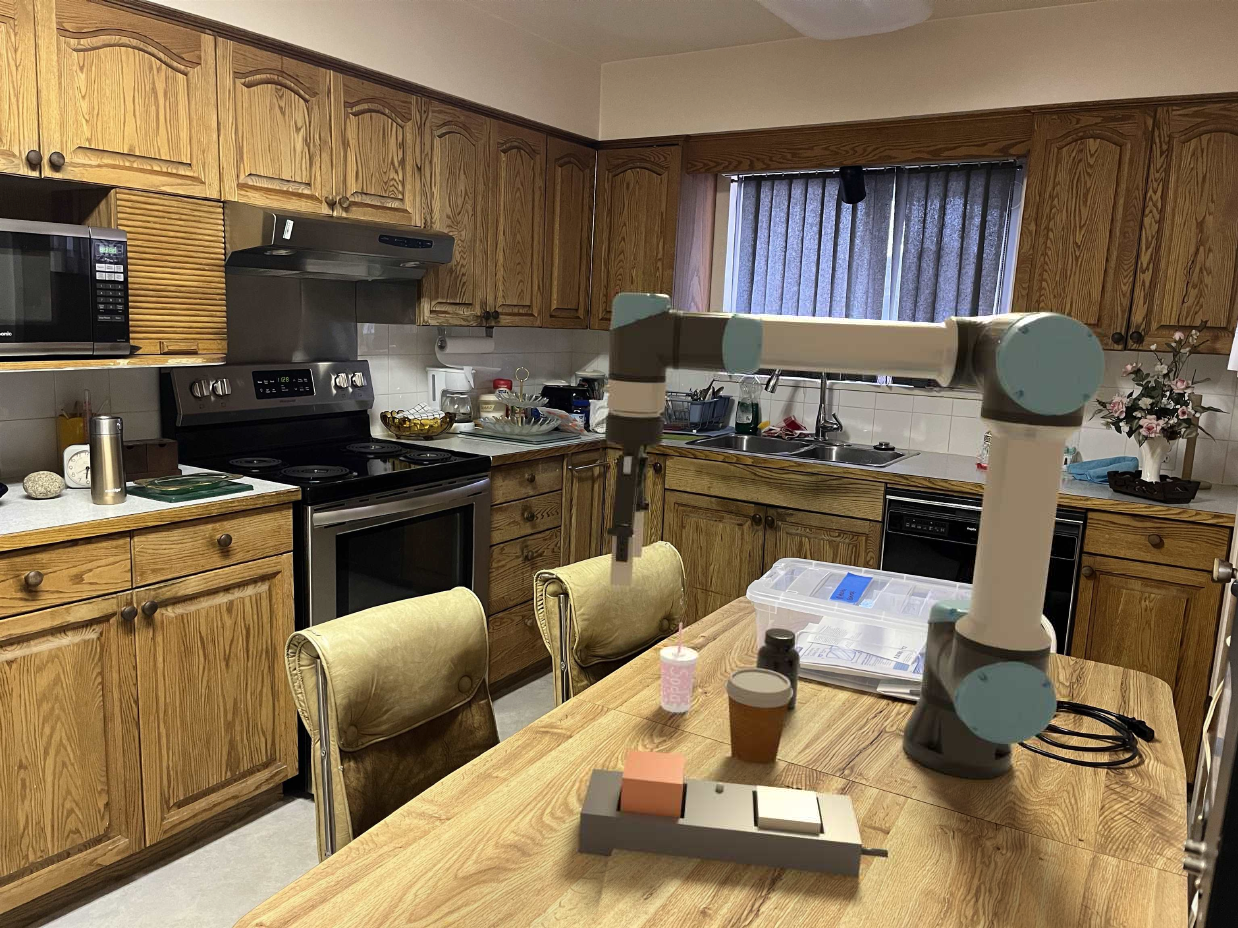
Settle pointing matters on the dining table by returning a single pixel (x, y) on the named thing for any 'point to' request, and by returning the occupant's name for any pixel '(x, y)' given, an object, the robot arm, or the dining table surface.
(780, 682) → the disposable coffee cup
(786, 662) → the supplement bottle
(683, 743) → the dining table surface
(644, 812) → the button orange
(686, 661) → the beverage cup
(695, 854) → the push button control box
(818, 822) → the button ivory
